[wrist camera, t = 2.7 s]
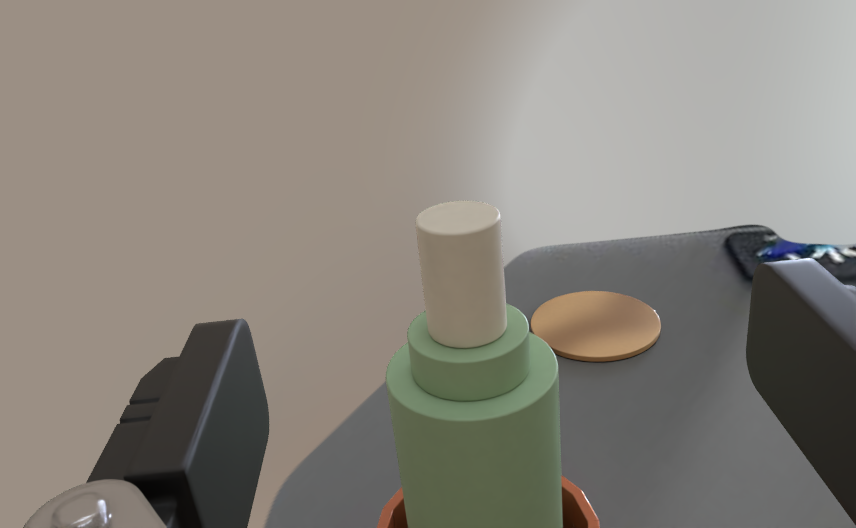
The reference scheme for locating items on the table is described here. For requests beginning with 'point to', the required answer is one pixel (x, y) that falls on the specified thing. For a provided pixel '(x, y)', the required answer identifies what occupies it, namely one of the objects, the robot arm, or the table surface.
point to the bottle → (473, 388)
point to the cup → (576, 509)
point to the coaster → (596, 326)
